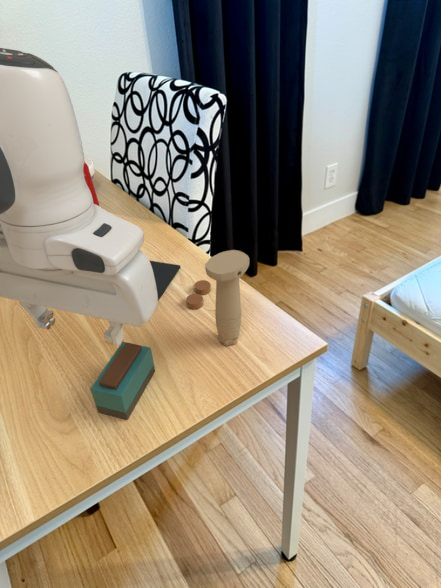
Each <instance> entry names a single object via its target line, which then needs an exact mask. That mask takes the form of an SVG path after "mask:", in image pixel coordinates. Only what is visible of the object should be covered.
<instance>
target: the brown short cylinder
mask: <svg viewBox="0 0 441 588" xmlns="http://www.w3.org/2000/svg"><path fill="white" fill-rule="evenodd" d="M185 302H186V307H187V308H188V309H190V310H199V309H201V308H202V307H203V306H204V297H203V295H200V294H197V293H191V294H189V295H187V296H186V298H185Z"/></svg>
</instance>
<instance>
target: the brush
mask: <svg viewBox="0 0 441 588" xmlns="http://www.w3.org/2000/svg"><path fill="white" fill-rule="evenodd" d="M115 350H116V351H115V352H114V353H113V354H112V356H111V357H110V359H109V361H108V362H107V363H106V365H105V366H104V368H103V369H102V370H101V372H100V374H99V375H98V376H97V378H96V379H95V381H94V382H93V383H92V385H91V387H90V392H91V395H92V399H93V402H94V405H95V408H96V412H97V413H99V414H102V415H106V416H110V417H114V418H118V419H122V420H125V421H128V420H129V418H130V417H131V415H132V413H133V412H134V410H135V408H136V406H137V404H138V402H139V401H140V399H141V397H142V395H143V394H144V392H145V391H146V388H147V387H148V385H149V383H150V382H151V380H152V378H153V376H154V374H155V372H156V368H155V364H154V357H153V352H152V347H150V346H145V345H141V344H137V343H132V342H127V341H122V342H121V343H120V345H119V346H118V347H117V349H115Z"/></svg>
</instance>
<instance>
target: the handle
mask: <svg viewBox="0 0 441 588" xmlns="http://www.w3.org/2000/svg"><path fill="white" fill-rule="evenodd" d="M249 267H250V257H249V255H248V254H246V253H245V252H243V251H242V250H236V249H230V250H225V251H222V252H219V253H217V254H215V255H213V256H211V257H210V258H209V259H207V261H206V262H205V264H204V268H205V274H206V275H207V276H208V277H209V278H210V279H212V280H214V281H215V282H216V283H215V307H214V308H215V309H214V310H215V311H214V313H215V314H214V315H215V326H216V330H217V331H216V332H217V336H218V338H217V339H218V341H219V342H220V343H222V344H223V345H224V346H226V347H227V346H230V345H232V346H233V345H236V344H237V343H238V339H239V337H240V331H241V326H242V301H241V288H240V278H242V276H243V275H245V273H246V272H247V270H248V269H249Z"/></svg>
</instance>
